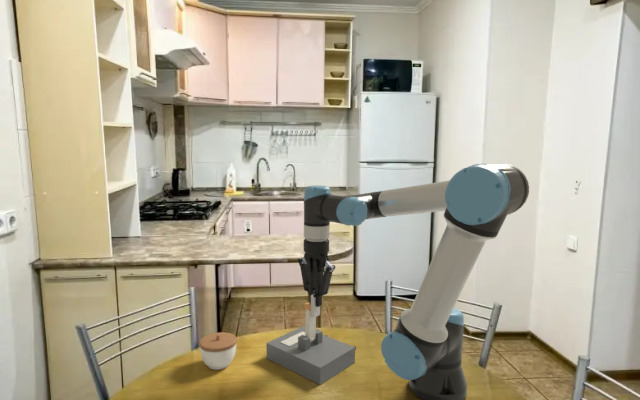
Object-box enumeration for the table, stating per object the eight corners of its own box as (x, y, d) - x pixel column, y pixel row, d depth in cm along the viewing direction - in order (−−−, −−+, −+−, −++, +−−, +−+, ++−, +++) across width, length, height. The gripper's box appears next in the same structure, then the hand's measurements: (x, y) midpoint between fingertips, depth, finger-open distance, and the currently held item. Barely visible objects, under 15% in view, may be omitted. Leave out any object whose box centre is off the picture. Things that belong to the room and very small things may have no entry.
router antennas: (356, 349, 136) (357, 346, 136) (343, 357, 131) (343, 354, 131) (325, 337, 145) (325, 333, 145) (311, 344, 140) (311, 341, 139)
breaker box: (354, 362, 128) (355, 336, 127) (320, 384, 116) (320, 355, 115) (302, 340, 142) (302, 316, 141) (266, 358, 130) (266, 332, 129)
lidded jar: (228, 375, 120) (227, 344, 119) (193, 371, 123) (192, 341, 121) (242, 357, 131) (241, 328, 130) (210, 354, 133) (209, 325, 132)
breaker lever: (316, 340, 129) (317, 302, 127) (309, 344, 126) (309, 305, 125) (311, 338, 131) (312, 300, 129) (303, 342, 128) (304, 303, 126)
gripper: (341, 240, 122) (340, 317, 125) (308, 233, 130) (307, 306, 133) (325, 244, 116) (323, 326, 119) (291, 237, 124) (291, 313, 128)
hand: (315, 315), depth 126 cm, fingers closed
